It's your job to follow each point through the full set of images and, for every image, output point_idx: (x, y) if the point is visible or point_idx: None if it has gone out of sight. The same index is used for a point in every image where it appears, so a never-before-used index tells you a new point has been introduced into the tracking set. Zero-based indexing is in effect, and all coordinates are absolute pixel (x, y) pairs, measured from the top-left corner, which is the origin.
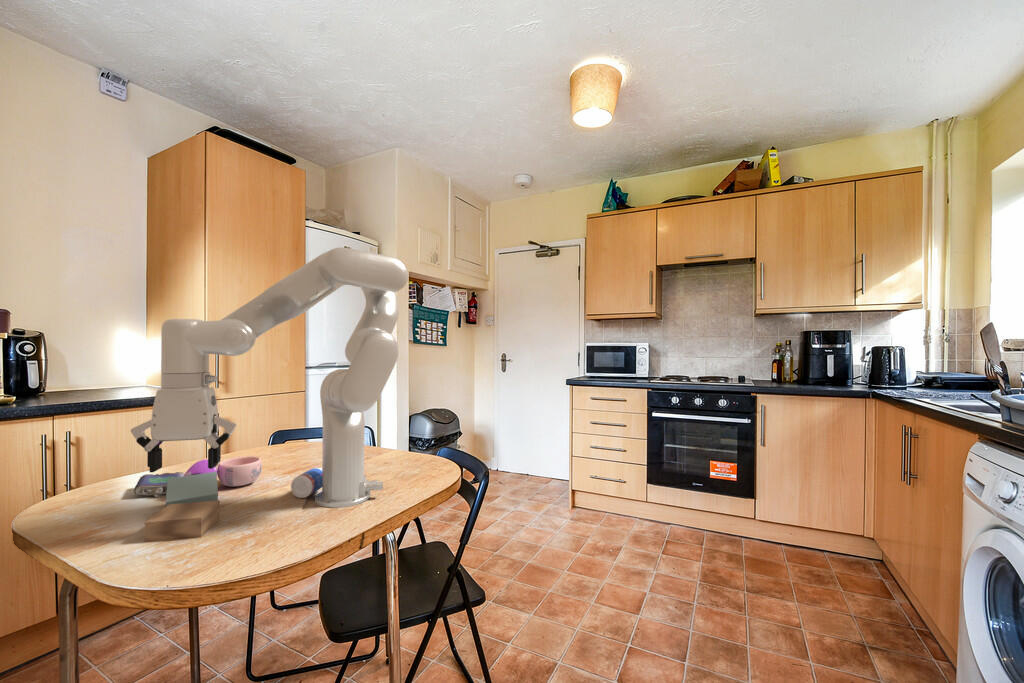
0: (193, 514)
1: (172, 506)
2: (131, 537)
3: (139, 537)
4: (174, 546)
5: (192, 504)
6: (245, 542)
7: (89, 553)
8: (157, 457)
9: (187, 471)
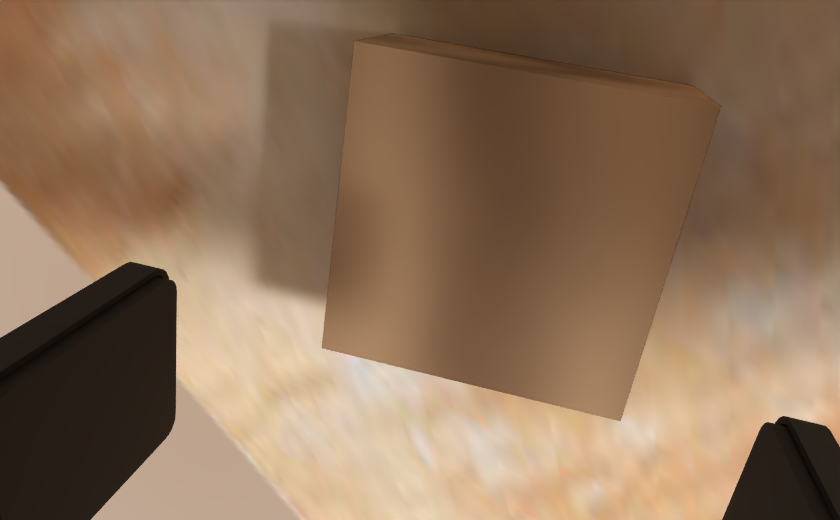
0: (565, 346)
1: (392, 108)
2: (264, 168)
3: (303, 187)
4: None
5: (523, 121)
6: None
7: None
8: (77, 459)
9: None
